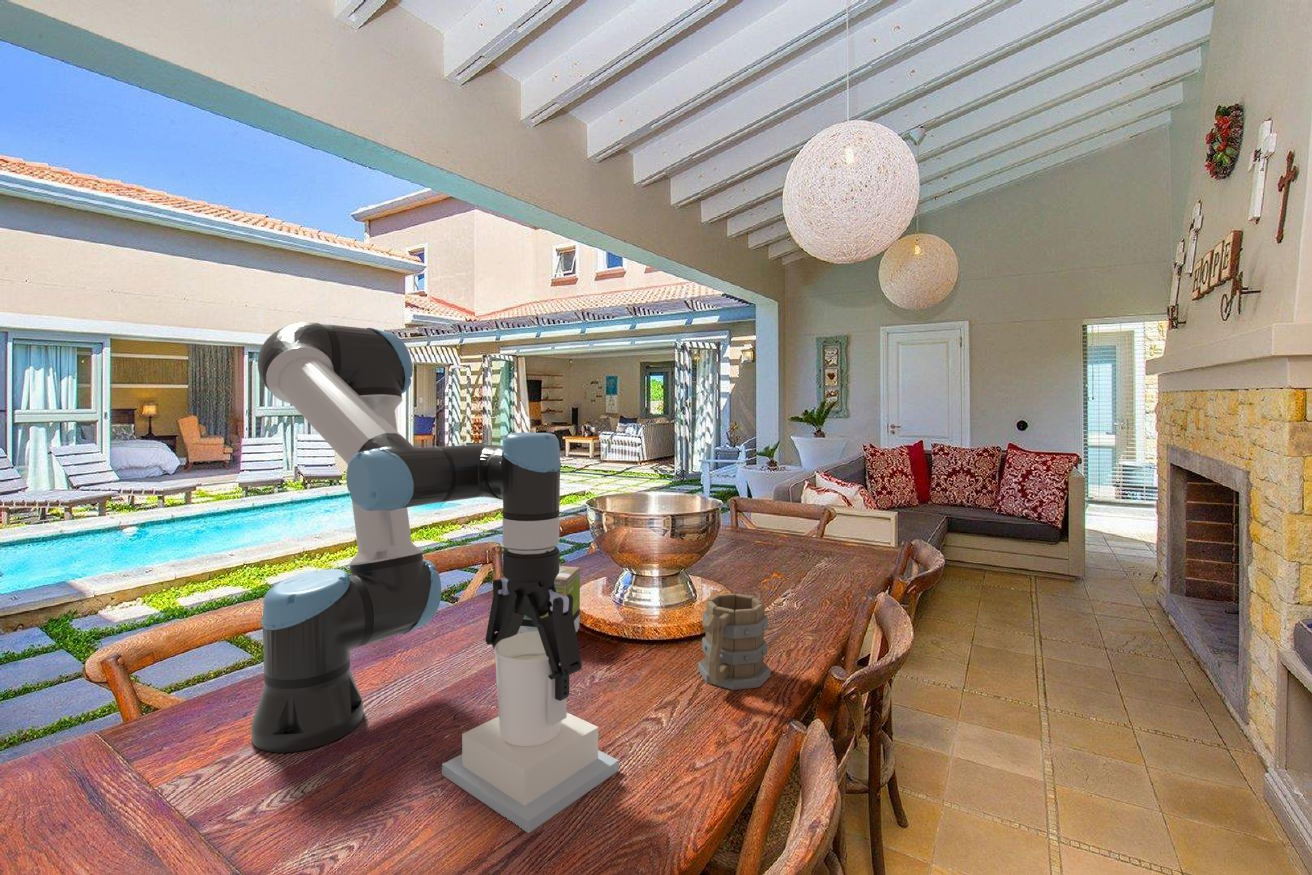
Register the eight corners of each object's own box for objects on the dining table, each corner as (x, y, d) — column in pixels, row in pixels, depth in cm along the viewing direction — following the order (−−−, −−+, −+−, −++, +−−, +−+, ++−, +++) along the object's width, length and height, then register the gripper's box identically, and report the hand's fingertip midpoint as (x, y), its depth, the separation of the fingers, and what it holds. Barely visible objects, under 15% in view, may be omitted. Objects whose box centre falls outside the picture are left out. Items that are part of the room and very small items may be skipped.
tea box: (498, 641, 130) (498, 573, 129) (517, 624, 140) (517, 561, 139) (566, 647, 127) (566, 577, 126) (580, 630, 137) (581, 565, 136)
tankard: (717, 655, 124) (719, 582, 123) (777, 669, 118) (778, 593, 117) (669, 694, 107) (670, 610, 106) (735, 714, 101) (737, 625, 100)
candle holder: (535, 705, 90) (536, 626, 90) (581, 728, 84) (582, 643, 84) (479, 732, 83) (479, 646, 82) (525, 759, 77) (525, 666, 76)
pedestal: (442, 774, 83) (441, 731, 83) (533, 726, 96) (533, 689, 95) (528, 833, 72) (528, 784, 72) (618, 770, 85) (619, 728, 84)
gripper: (611, 555, 78) (609, 724, 80) (502, 531, 92) (502, 675, 93) (568, 567, 72) (567, 749, 74) (458, 539, 86) (459, 693, 87)
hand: (531, 708), depth 83 cm, fingers open, 10 cm apart
